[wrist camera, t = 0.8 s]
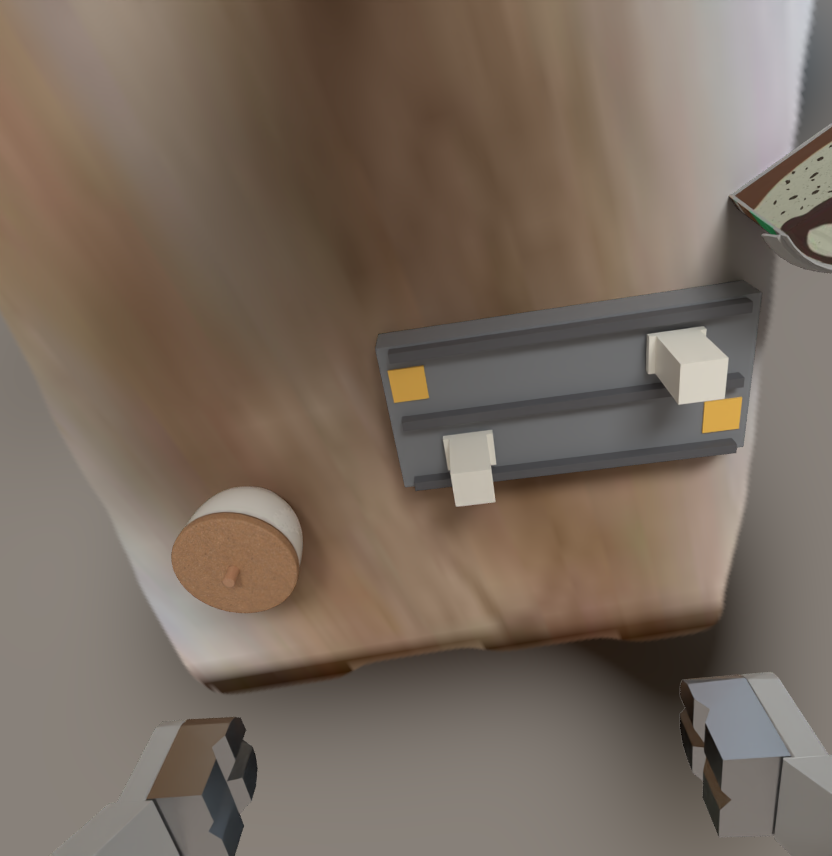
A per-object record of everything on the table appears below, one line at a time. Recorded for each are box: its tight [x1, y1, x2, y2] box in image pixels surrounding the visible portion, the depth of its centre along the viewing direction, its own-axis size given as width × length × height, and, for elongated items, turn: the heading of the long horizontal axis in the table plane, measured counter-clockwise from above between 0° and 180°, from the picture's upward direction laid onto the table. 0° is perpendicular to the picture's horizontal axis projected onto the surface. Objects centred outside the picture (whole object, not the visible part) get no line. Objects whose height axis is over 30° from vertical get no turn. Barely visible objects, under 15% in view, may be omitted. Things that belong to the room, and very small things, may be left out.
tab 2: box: [646, 326, 729, 405], centre depth 42 cm, size 3×4×6 cm
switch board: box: [375, 280, 762, 491], centre depth 48 cm, size 13×28×4 cm, turn 99°
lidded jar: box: [171, 486, 303, 613], centre depth 54 cm, size 11×11×9 cm
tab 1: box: [443, 430, 496, 507], centre depth 47 cm, size 3×4×6 cm
